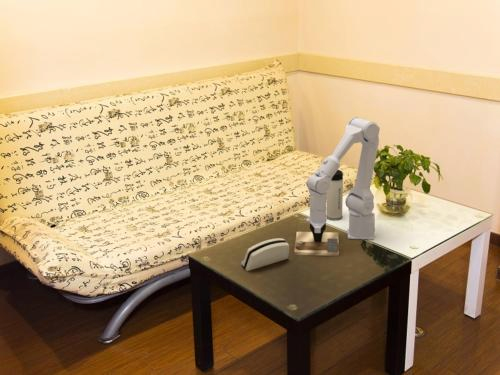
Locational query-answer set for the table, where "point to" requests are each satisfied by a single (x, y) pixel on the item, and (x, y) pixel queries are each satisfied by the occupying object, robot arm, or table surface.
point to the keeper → (332, 245)
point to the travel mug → (335, 197)
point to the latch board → (309, 238)
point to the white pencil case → (266, 253)
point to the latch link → (312, 245)
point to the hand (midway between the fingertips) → (317, 242)
